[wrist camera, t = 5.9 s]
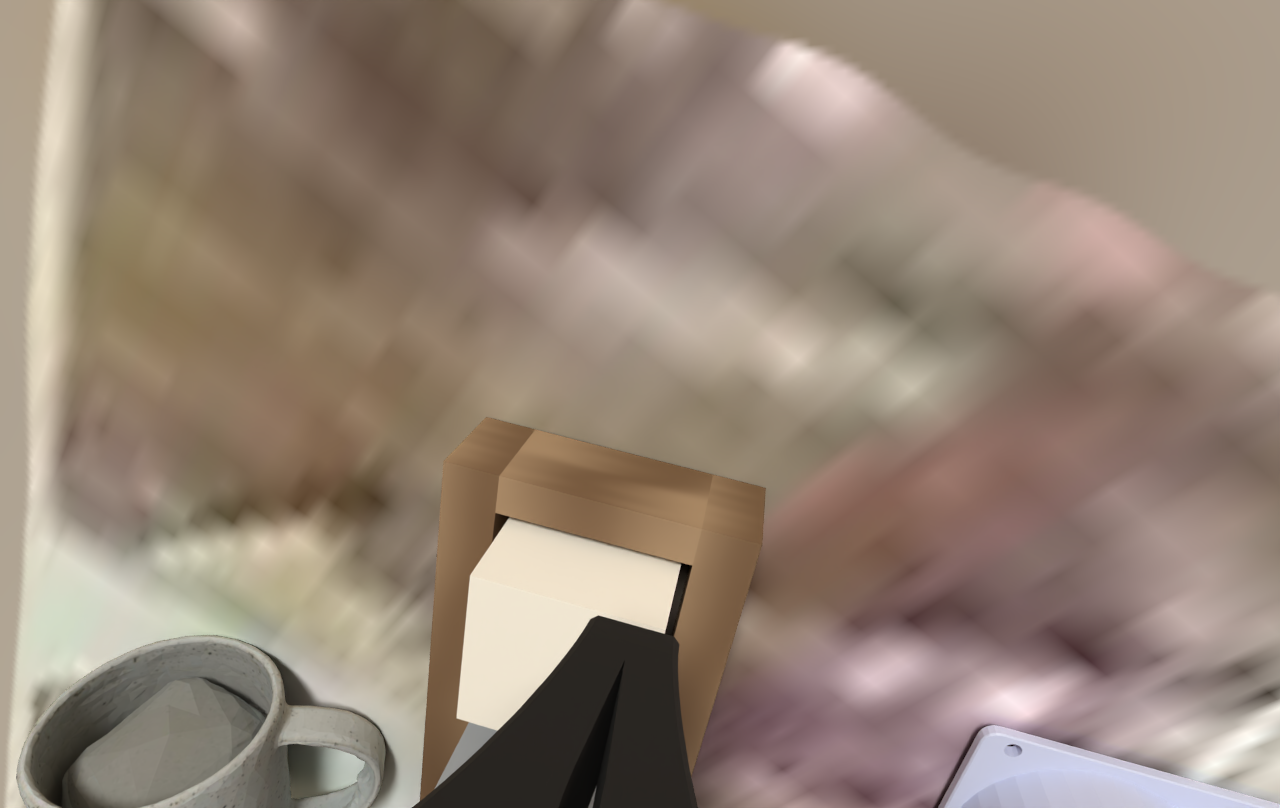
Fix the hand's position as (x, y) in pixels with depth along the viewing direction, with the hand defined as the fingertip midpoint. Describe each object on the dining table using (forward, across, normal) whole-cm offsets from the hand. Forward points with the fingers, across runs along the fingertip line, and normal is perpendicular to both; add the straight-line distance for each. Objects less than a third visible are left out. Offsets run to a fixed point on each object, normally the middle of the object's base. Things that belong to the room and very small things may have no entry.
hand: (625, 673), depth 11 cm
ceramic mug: (+11, +14, +18) cm, 25 cm away
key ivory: (+9, +2, +6) cm, 11 cm away
